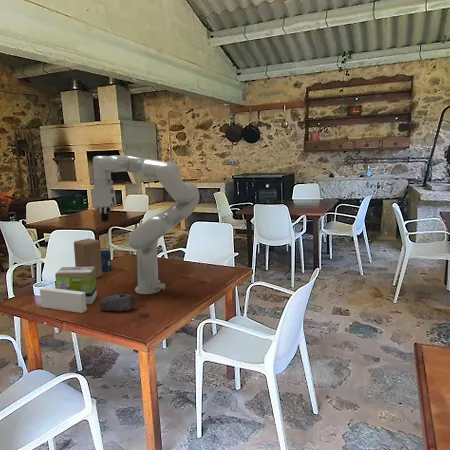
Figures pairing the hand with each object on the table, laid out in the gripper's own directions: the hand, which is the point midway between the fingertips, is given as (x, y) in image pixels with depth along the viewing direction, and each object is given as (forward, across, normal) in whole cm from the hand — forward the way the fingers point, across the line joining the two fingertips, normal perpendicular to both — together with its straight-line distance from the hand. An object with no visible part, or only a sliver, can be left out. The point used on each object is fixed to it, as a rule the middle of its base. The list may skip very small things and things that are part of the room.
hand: (105, 221), depth 189 cm
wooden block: (+33, +20, -11) cm, 40 cm away
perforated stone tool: (+33, -20, +23) cm, 45 cm away
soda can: (+33, +20, -25) cm, 46 cm away
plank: (+33, +3, +28) cm, 44 cm away
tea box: (+33, +3, +19) cm, 39 cm away
